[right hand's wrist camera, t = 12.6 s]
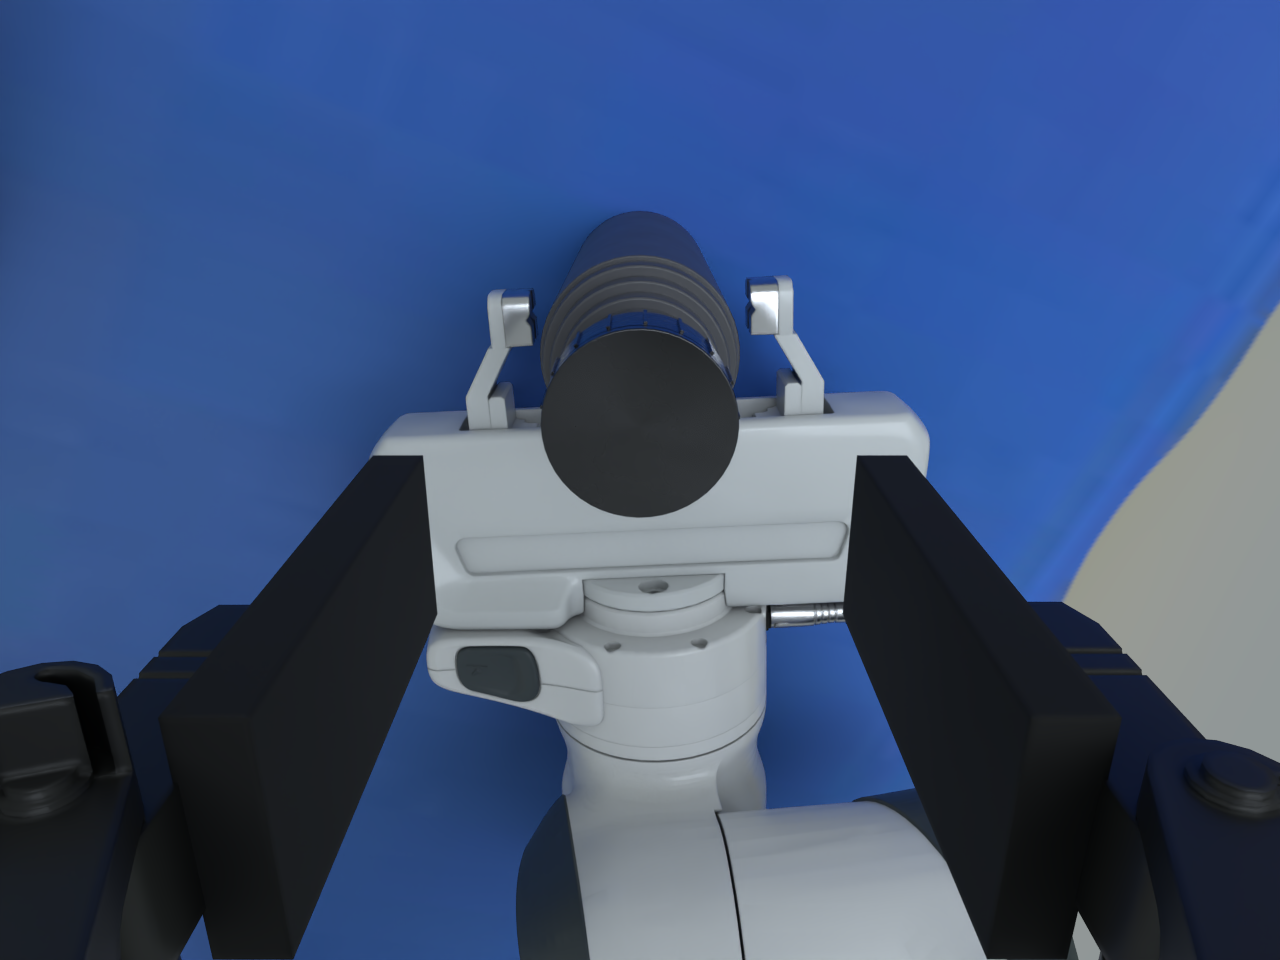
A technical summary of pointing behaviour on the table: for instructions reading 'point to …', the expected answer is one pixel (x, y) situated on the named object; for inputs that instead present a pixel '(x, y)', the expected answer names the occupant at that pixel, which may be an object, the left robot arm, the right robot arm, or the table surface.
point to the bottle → (639, 286)
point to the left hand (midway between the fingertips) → (639, 284)
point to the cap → (639, 415)
